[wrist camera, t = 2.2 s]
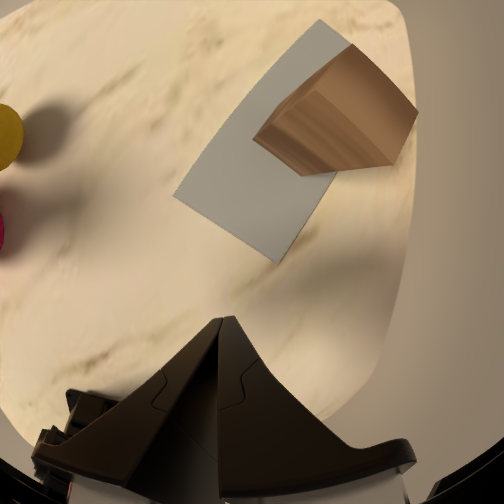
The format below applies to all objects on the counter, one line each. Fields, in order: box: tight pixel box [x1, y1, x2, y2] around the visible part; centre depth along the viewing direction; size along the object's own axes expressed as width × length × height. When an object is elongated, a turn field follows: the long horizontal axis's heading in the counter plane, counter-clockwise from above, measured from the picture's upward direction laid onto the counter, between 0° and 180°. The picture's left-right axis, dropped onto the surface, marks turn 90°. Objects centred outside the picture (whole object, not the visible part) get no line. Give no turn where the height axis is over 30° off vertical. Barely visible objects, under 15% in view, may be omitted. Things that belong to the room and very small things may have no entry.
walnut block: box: [252, 44, 418, 177], centre depth 15 cm, size 4×5×11 cm
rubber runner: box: [173, 19, 351, 264], centre depth 21 cm, size 23×10×1 cm, turn 146°
